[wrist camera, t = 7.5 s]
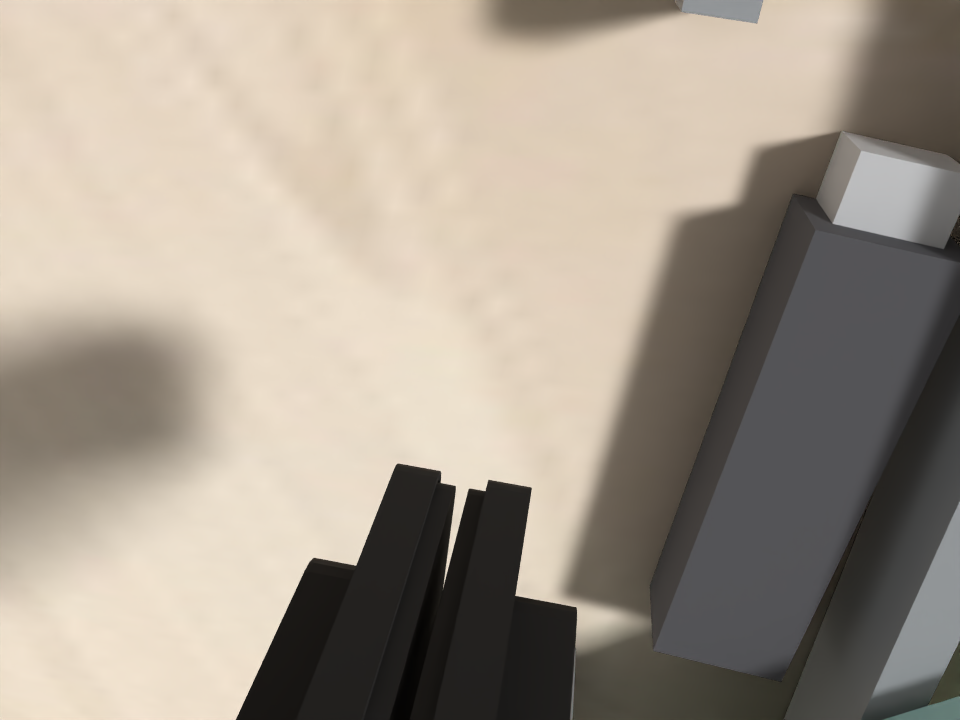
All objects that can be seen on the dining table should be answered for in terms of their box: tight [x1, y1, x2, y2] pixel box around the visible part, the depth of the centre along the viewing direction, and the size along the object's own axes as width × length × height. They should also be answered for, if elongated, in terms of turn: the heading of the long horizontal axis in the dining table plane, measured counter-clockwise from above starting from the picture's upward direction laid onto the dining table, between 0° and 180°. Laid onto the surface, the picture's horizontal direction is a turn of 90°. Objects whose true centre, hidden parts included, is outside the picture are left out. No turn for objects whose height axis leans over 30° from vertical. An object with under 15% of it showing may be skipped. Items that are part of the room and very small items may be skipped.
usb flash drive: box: [650, 131, 960, 682], centre depth 17 cm, size 10×3×2 cm, turn 169°
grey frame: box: [570, 0, 960, 720], centre depth 17 cm, size 22×7×3 cm, turn 173°
